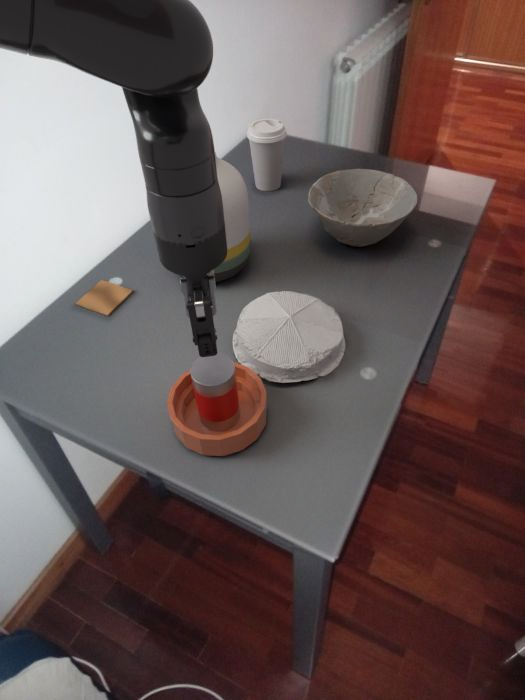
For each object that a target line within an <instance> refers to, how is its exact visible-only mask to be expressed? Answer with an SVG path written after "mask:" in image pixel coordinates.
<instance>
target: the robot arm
mask: <svg viewBox="0 0 525 700" xmlns="http://www.w3.org/2000/svg"><path fill="white" fill-rule="evenodd" d="M0 49H2V50H5V51H8V52H9V51H10V52H13V53H17V54H21V55H25V56H27V55H29V57H34V58H39V59H43V60H50V61H55V62H58V63H61V64H64V65H66V66H69V67H71V68H73V69H76V70H78V71H80V72H83V73H85V74H86V75H87V74H88V75H89V76H92V77H95V78H97V79H100V80H103V81H105V82H108V83H110V84H113V85H115V86H118V87H120V88H122V89H121V90H122V92H123V95H124V98H125V102H126V105H127V108H128V111H129V114H130V117H131V120H132V124H133V128H134V134H135V140H136V146H137V153H138V158H139V162H140V167H141V171H142V176H143V180H144V184H145V191H146V203H147V210H148V214H149V219H150V224H151V227H152V232H153V236H154V240H155V241H154V242H155V245H156V250H157V253H158V258H159V259H158V260H159V262H160V263H161V265H162V267H163V268H164V269H166V270H167V271H169V272H171V273H173V274H175V275H178V276H180V278H179V285H180V292H181V293H182V294H183V298H184V305H185V312H186V313H185V314H186V316H187V318H188V319H189V322H190V327H191V333H192V343H193V344H194V346H197V350H198V354H199V356H201V357H209V356H215V355H217V352H218V347H217V340H218V335H217V334H216V333H218V332H217V328H216V326H215V320H214V316H216V315H217V313H218V310H217V302H216V293H215V290H216V289H217V285H216V282H215V276H214V274H213V273H214V269H216V268H217V267H219V266H220V265H221V264H222V263H223V262H224V260H225V258H226V256H227V241H226V231H225V221H224V211H223V201H222V195H221V190H220V186H219V183H218V177H217V169H216V159H215V153H216V150H215V144H214V143H215V142H214V137H213V132H212V128H211V125H210V122H209V120H208V118H207V116H206V113H205V112H204V110H203V107H202V105H201V103H200V102H201V101H200V97H199V91H198V88H199V87H200V86H202V84H203V83H204V81H206V79H207V77H208V74H209V73H210V71H211V68H212V64H213V60H214V42H213V37H212V33H211V31H210V28H209V24H208V23H207V20H206V19H205V17H204V15H203V14H202V13H201V11H200V10H199V8H198V7H197V6H196V5H195V4H194V3H193V2H192V1H190V0H0ZM212 274H213V275H212Z"/></svg>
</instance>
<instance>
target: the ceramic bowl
mask: <svg viewBox="0 0 525 700" xmlns="http://www.w3.org/2000/svg"><path fill="white" fill-rule="evenodd" d="M307 196H308V197H307V202H308V204H309V206H310V207H311V209H312V210H313V211H314V212H315V214H316V215H317V217H318V218H319V220H320V222H321V224H322V226H323V229H324V231H326V233H328V234H329V235H330V236H331V237H332V238H334V239H335V240H336V241H338V242H340V243H341V244H343V245H349V246H350V247H367V246H369V245H370V246H371V245H374V244H377V243H378V242H379V241H382V240H384V239H385V238H386V237H388V236H389V235H391V234H392V233H393V232H394V231H395V230H396V229H397V228H398V227H399V226H400V225H401V224H402V223H403V222H404V221H405V220H406V219H407V218H408V217H409V216H410V214H411V213H412V212H413V211H414V209H415V208H416V205H417V204H418V195H417V192H416V191H415V189H414V188H413V186H412V184H410V183H408V181H406V180H405V179H403V178H401V177H400V176H395V174H393V173H389V172H385V171H382V170H376V169H367V168H351V169H340V170H336V171H333V172H330V173H326V174H325V175H323V176H321V177H320V178H318V179H317V181H315V182H314V183H313V184H312V186H311V187H310V188H309V191H308V195H307Z"/></svg>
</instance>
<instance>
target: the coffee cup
mask: <svg viewBox="0 0 525 700" xmlns="http://www.w3.org/2000/svg"><path fill="white" fill-rule="evenodd" d="M246 137H247V139H248V141H249V148H250V155H251V163H252V170H253V171H252V172H253V177H254V183H255V184H254V185H255V188H256V189H257V190H259V191H262V192H272V191H276V190H278V189H280V188H281V186H282V176H283V175H282V173H283V164H284V162H283V161H284V152H285V140H286V138H287V137H288V132H287V129H286V126H285V125H284V123H283V121H281V120H279V119H276V118H260V119H256V120H254V121H252V122H251V123H250V124H249V127H248V129H247V132H246Z"/></svg>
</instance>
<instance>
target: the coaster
mask: <svg viewBox="0 0 525 700" xmlns="http://www.w3.org/2000/svg"><path fill="white" fill-rule="evenodd" d="M133 293H134V289H130V288H127V287H125V286H122V285H120V284H115V283H113V282H109V281H107V280H103V279H101V280H100V281H98V282H97V283H96V284H95V285H94V286H93V287H92V288H91V289H89V290H88V291H87V292H86V293H85V294H84V295H83V296H82V297H81V298H79V299H78V300H77V301H76V302H75V306H78V307H80V308H83V309H86V310H89V311H92V312H95V313H97V314H100V315H104V316H106V317H109V316H111V314H112V313H113V312H114V311H116V309H117V308H119V306H120V305H121V304H123V303H124V302H125V301H126V300H127V299H128V298H129V296H131V295H132V294H133Z"/></svg>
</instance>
